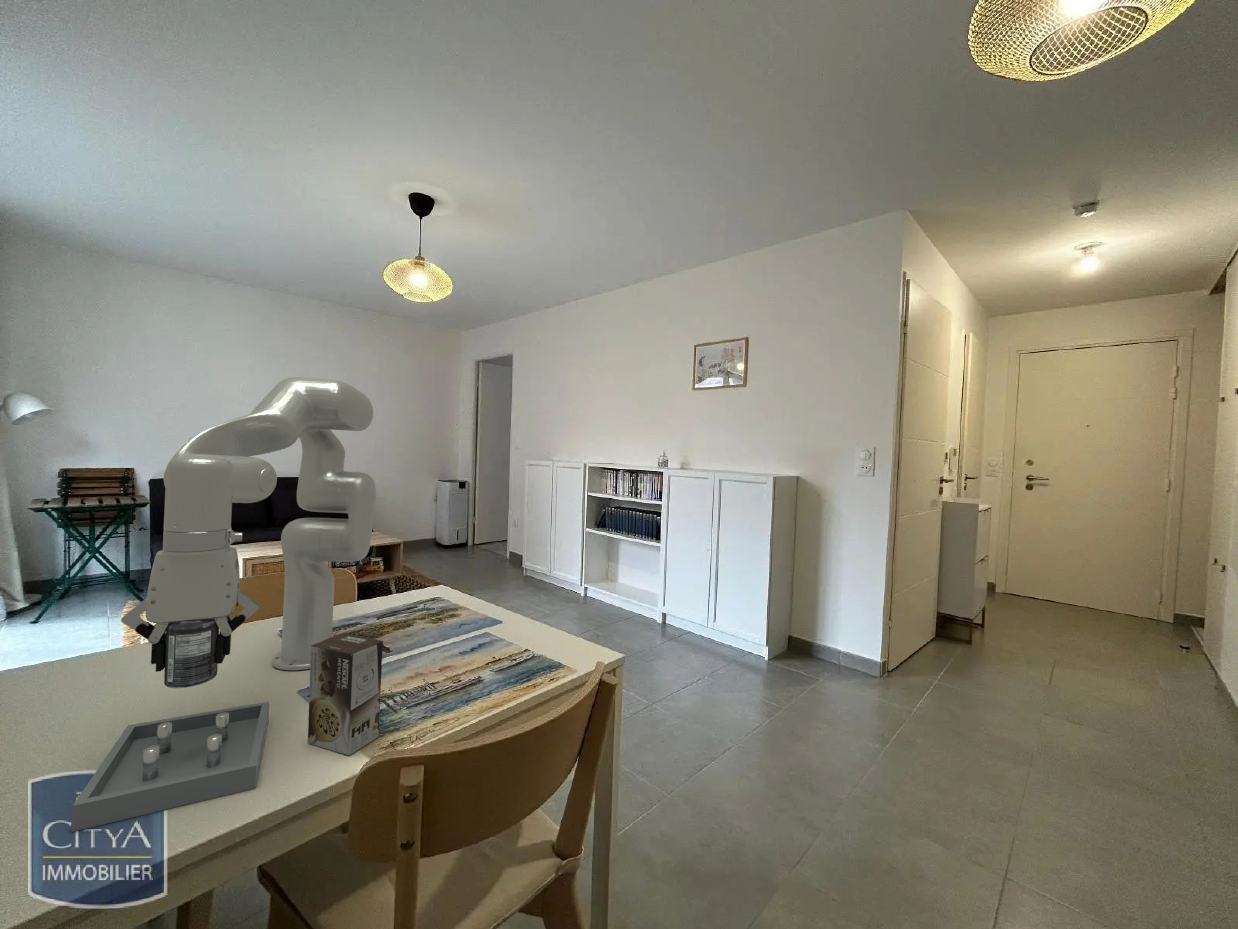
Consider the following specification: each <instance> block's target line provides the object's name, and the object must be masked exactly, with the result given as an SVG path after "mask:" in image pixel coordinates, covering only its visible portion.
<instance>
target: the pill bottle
mask: <svg viewBox="0 0 1238 929" xmlns="http://www.w3.org/2000/svg"><path fill="white" fill-rule="evenodd" d="M165 634H166V647H165V668H164V674H163V675H164V676H163V678H164V680H163V681H164V682H163V683H164V686H165V687H167V688H171V689H186V688H187V689H188V688H192V687H196V686H200V685H203V684H206V683H209V682H210V681H212V680H213V679H214V678H216V676H217V675H218V668H219V667H218V665H219V664H217V663H216V646H217V637H218V635H219V634H220V629H219V627H218V625H217V623H216V621H215V619H207V620H185V621H180V622H174V623H169V624H168V626H167V628H166V632H165Z"/></svg>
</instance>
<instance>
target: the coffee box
mask: <svg viewBox="0 0 1238 929" xmlns="http://www.w3.org/2000/svg"><path fill="white" fill-rule="evenodd" d="M383 644H384V641H383V640H381V639H377V638H376V639H375V638H371V637H364V636H360V635H356V634H355V635H354V634H349V633H338V634H336V635H334V637H331V638H328V639H326V640H324V641H322V642H319V643H317V644H314V645H311V659H310V669H309V689H308V690H309V692H308V693H309V694H308V696H309V698H308V726H307V727H308V728H307V733H308V734H307V744H309V745H312V746H316V747H319V748H323V749H325V750H326V749H327V750H328V751H333V752H336V753H339V754H343V755H345V756H351V755H353V754H354V753H356V752H357V751H358V750H360V749H362V748H363V747H365V746H366V745H368V744H370V743H371V742H373V741H374V740H376V739H377V738H379V732H380V716H381V715H380V710H381V690H382V687H381V686H382V668H383V665H382V664H383V649H384V648H383V647H384V646H383Z"/></svg>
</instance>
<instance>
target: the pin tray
mask: <svg viewBox="0 0 1238 929" xmlns="http://www.w3.org/2000/svg"><path fill="white" fill-rule="evenodd" d="M269 717H270V701H265V702H264V701H263V702H258V703H251V704H246V705H240V706H235V707H234V706H233V707H229V708H223V709H217V710H212V711H205V712H198V713H194V714H193V713H191V714H187V715H181V716H175V717H170V718H169V717H168V718H165V719H164V718H162V719H157V720H151V721H147V722H140V723H133V724H128V725H127V726H126V727H125V729H124V730H123V732H122V733H121V735H120V736H119V737H118V739H117V740H116V742H115V744H114V745H113V746H112V748H111V749H110V751H109V752H108V754H107V755H106V756H105V757H104V759H103V761H102V763H101V764H100V765H99V767H97V770H96V771H95V773H94V774H93V775H92V776H91V779H89V781H88V783H87V785H86V786H85V787H84V788H83V790H82V791H81V793H80V795H79V796H78V797H77V799H76V800H75V801H74V803H73V805H72V808H71V810H72V811H71V814H72V815H71V833H74V832H77V831H82V830H87V829H90V828H95V827H98V826H103V825H108V824H111V823H115V822H120V821H124V820H128V819H132V818H136V817H141V816H145V815H149V814H153V813H157V812H161V811H166V810H170V809H174V808H179V807H183V806H186V805H191V804H195V803H199V802H204V801H207V800H212V799H217V798H220V797H225V796H228V795H234V794H236V793H242V792H245V791H251V790H254V789H256V787H257V782H258V776H259V771H260V767H261V766H260V765H261V762H262V755H263V752H264V747H265V746H264V745H265V741H266V735H267V730H268V726H269V719H270V718H269ZM182 805H183V806H182Z"/></svg>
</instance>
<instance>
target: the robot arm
mask: <svg viewBox="0 0 1238 929" xmlns="http://www.w3.org/2000/svg"><path fill="white" fill-rule="evenodd" d="M373 419H374V409H373V404H372V402H371V400H370V399H369V397H368V396H367V395H366V394H365V393H364V392H362V391H360V390H358V389H357V388H355V387H354V386H353V385H351V384H348V383H346V382H344V381H340V380H337V379H326V378H324V379H322V378H311V377H289V378H284V379H283V380H281V381H278V383H276V384H275V386H274V387H273V388H272V389H271V390H270V391H269V392H268V394H267V395H266V396H264V397H263V399H262V400H261V401H260V402H259V403H258V405H257V406H255V408H254V409H253V410H252V411H251V412H250V413H248V414H246V415H242V416H238V417H235V418H233V419H230V420H228V421H225V422H223V423H219V424H217V425H214V426H212V427H210V428H209V427H208V428H207V429H204V430H203V431H201V432H199V433H197V434H196V435H195V434H194V436H192V437H191V438H190V439H188V441H187V442H186V443H185V444H184V445H183V446H181V448H180V449H178V451H177V452H175V454H174V455H173V456H172V457H171V459H170V460H169V462H168V463H167V465H166V467H165V470H164V473H163V485H164V487H165V491H164V492H165V493H164V515H163V534H162V535H163V538H162V539H163V540H162V550H159V551H157V552H156V554H155V556H154V560H153V564H152V568H151V572H150V577H149V580H148V581H149V582H148V589H147V593H146V597H145V599H143V600H142V601H141V602H140V603H138V604H137V605H135V607H134V608H132V609H131V610H129V611H128V612H127V613H126V614H125V615H124V616H122V617H121V619H120V621H121V623H122V624H124V625H125V626H127V627H129V628H130V629H132V630H134V631H135V632H136V634H138V635H139V636H141V637H143V638H144V639H145V640H147V642H148V643H149V644H151V649H150V650H151V654H150V664H151V665H155V672H156V673H157V672H162V671H164V670H165V647H166V628H167V626H168V624H169V623H174V622H180V621H185V620H207V619H215V621H216V623H217V625H218V627H219V635H218V637H217V646H216V663H217V664H218V665H219V664H223V662H224V659H225V658H226V656H229V655H230V654H231V646H232V644H231V643H232V633H233V632H234V631H235V630H237V629H238V628H239V627H240V626H241V625H242V624H243V623H244V622H246V620H248V619H249V618H250V617H251V616H253V615H254V614H255V613H256V612H257V611H258V610H259V609H260V604H259V603H258V602H256V600H254V599H253V598H252V597H250V596H248V595H247V594H246V593H245V592H244V591H242V590H241V588H240V586H241V585H240V583H241V580H240V578H241V577H240V564H239V556H238V555H239V554H238V550H237V548H236V547H233V546H231V545H233V543H236V542H242V541H243V532H237V531H234V530H232V512H233V511H232V510H233V508H232V507H233V503H234V504H239V503H240V504H253V503H258V502H261V501H263V500H265V499H267V498H268V497H269V496H271V494H272V493H273V492H274V491H275V488H276V486H277V481H278V477H277V472H276V470H275V468H274V467H273V465H272V464H271V463H270V462H268V461H267V460H265V459H262V458H259V457H256V456H261V455H266V454H271V453H274V452H277V451H278V452H279V451H282V450H285V449H287V448H290V447H291V446H293V445H294V444H295V443H296V442H297V441H298V439H299V440H300V443H301V449H302V451H301V461H300V468H299V473H298V474H299V475H298V481H297V482H298V483H297V487H296V488H297V489H296V503H297V505H298V507H299V508H301V509H303V510H304V511H308V512H316V513H337V514H339V513H340V514H347V516H348V518H331V517H303V518H301V517H300V518H296V519H294V520H292V521H290V522H288V523H287V524H286V525H285V526H284V528H283V529H282V531H281V537H280V546H281V551H282V558H283V565H284V585H283V587H284V588H283V589H284V590H283V605H282V606H283V609H282V610H283V611H282V632H281V651H279V652H277V653H276V654H275V655H273V657H272V663H271V664H272V666H273V667H274V668H276V669H278V670H284V671H302V670H310V659H311V645H314V644H317V643H319V642H322V641H324V640H326V639H328V638H331V637H334V636H335V634H334V632H333V623H334V604H335V603H334V600H335V576H334V574H333V572H332V570H331V569H330V567H329V565H328V564H327V563H326V562H343V563H345V562H349V563H350V562H360V561H362V560H363V559H365V558H366V557H367V555H368V553H369V552H370V548H371V547H370V546H371V543H372V535H373V525H374V519H375V517H374V516H375V511H376V510H375V509H376V498H377V495H376V494H377V490H376V483H375V480H374V478H373V477H372V476H371V475H369V474H368V473H366V472H361V471H344V468H345V458H346V449H345V447H344V445H343V444H342V442H341V441H340V438H338V436H337V435H336V434H335V433H334V432H333V431H348V432H349V431H350V432H351V431H352V432H360V431H361V432H362V431H365V430H367V429H368V428H369V426H370V425H371V424H372V421H373ZM239 605H240V606H241V607H243V610H242V611H241V612H239V613H238V614H237V615H235V616H234V617H233V618H232V617H231V615H233V614H234V613H235V611H236V609H237V608H238V607H239ZM144 612H145V618H146V620H144V618H142V616H141V615H142V614H144ZM152 623H153V624H155V625H153V624H152Z"/></svg>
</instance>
